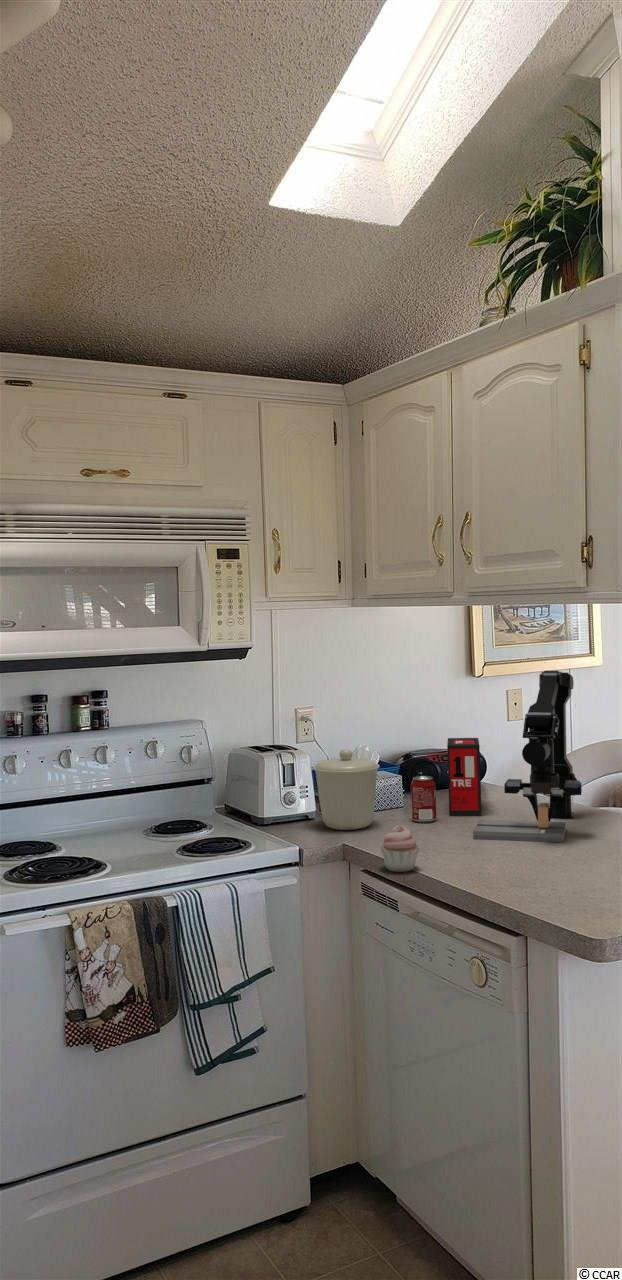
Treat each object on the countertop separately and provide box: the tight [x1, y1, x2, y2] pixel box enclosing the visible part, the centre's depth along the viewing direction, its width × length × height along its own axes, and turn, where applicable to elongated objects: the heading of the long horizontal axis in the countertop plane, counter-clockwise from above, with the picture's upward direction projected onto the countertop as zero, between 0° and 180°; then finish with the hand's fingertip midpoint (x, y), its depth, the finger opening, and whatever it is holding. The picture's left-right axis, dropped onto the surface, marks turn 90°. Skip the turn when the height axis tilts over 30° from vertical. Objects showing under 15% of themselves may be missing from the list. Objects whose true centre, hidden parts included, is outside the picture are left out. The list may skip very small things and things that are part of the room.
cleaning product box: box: [446, 737, 482, 817], centre depth 270 cm, size 16×9×20 cm, turn 171°
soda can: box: [410, 775, 437, 824], centre depth 258 cm, size 7×7×12 cm
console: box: [472, 818, 567, 843], centre depth 238 cm, size 14×22×2 cm, turn 72°
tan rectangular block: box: [538, 802, 551, 828], centre depth 236 cm, size 6×2×6 cm, turn 162°
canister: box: [312, 748, 380, 831], centre depth 254 cm, size 18×18×21 cm
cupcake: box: [378, 823, 422, 873], centre depth 209 cm, size 9×9×10 cm
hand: (543, 820), depth 236 cm, fingers closed on tan rectangular block, 2 cm apart
